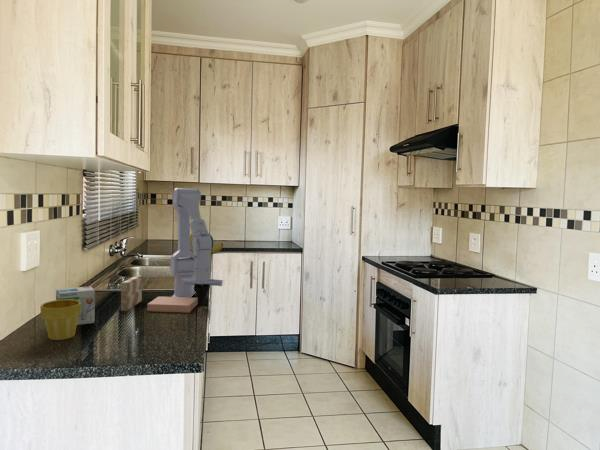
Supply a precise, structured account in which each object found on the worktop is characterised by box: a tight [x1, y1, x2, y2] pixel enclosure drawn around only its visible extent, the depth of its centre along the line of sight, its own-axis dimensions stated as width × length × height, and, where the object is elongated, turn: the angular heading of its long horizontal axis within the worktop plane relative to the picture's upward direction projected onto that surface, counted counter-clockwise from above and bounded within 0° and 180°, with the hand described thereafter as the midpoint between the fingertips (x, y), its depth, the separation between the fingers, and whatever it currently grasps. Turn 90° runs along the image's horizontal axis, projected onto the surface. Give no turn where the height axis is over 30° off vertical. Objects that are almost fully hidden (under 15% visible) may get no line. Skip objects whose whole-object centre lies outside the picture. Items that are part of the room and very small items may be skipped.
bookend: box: [120, 274, 143, 312], centre depth 165 cm, size 15×2×10 cm, turn 0°
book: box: [146, 295, 199, 313], centre depth 165 cm, size 12×15×3 cm
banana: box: [190, 233, 224, 254], centre depth 309 cm, size 23×6×20 cm, turn 105°
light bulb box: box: [55, 285, 96, 326], centre depth 143 cm, size 11×7×11 cm, turn 126°
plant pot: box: [40, 299, 81, 341], centre depth 129 cm, size 10×10×10 cm
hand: (201, 304), depth 165 cm, fingers closed
